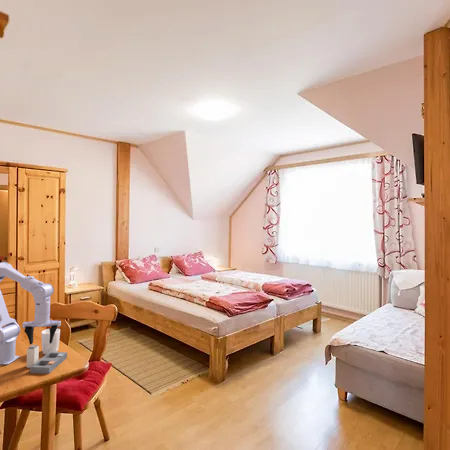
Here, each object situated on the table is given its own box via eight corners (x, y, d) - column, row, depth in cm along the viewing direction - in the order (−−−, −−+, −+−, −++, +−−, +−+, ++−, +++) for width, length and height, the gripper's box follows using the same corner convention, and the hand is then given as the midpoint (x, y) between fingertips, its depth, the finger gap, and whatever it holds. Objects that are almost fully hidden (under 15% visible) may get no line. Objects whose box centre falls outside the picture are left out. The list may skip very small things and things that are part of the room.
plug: (26, 367, 134) (27, 347, 134) (31, 364, 138) (31, 344, 137) (34, 367, 134) (34, 347, 134) (38, 364, 138) (38, 344, 138)
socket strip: (29, 372, 130) (30, 365, 130) (49, 357, 145) (49, 350, 145) (49, 373, 130) (49, 366, 130) (67, 357, 145) (67, 351, 145)
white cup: (42, 349, 153) (43, 328, 153) (60, 347, 156) (61, 327, 156) (39, 355, 146) (40, 334, 146) (58, 353, 149) (58, 333, 149)
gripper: (20, 315, 131) (19, 347, 131) (58, 314, 135) (57, 345, 135) (25, 310, 138) (24, 341, 138) (62, 309, 142) (61, 339, 142)
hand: (41, 343), depth 137 cm, fingers open, 7 cm apart
